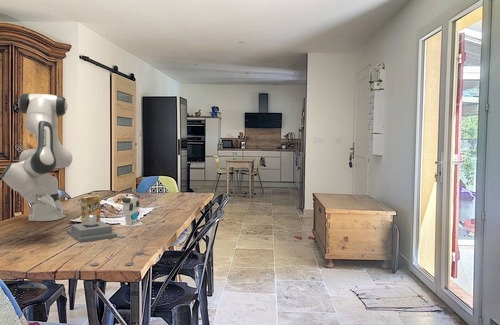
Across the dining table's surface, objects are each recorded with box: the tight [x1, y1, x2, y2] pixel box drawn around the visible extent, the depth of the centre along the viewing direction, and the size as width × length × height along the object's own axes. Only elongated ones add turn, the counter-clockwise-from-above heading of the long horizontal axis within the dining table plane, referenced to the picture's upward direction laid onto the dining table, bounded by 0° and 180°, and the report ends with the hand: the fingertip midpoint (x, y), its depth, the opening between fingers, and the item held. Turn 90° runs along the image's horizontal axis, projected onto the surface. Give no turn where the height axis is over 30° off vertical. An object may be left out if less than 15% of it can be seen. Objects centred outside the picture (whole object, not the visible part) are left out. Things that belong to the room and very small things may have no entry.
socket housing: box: [66, 220, 118, 244], centre depth 184 cm, size 22×16×4 cm
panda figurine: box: [120, 194, 143, 228], centre depth 207 cm, size 12×11×15 cm
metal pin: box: [86, 214, 96, 228], centre depth 184 cm, size 4×4×8 cm
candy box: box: [80, 195, 101, 224], centre depth 203 cm, size 9×4×15 cm, turn 150°
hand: (60, 213), depth 179 cm, fingers open, 8 cm apart
